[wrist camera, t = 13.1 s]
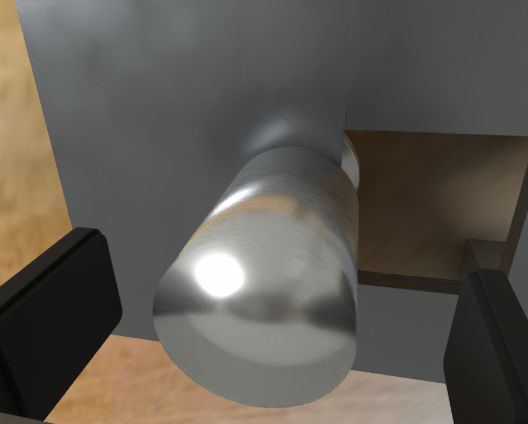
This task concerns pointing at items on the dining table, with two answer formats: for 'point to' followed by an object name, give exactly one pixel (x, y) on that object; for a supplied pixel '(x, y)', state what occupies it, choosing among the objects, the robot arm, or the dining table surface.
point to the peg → (269, 283)
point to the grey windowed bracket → (270, 126)
